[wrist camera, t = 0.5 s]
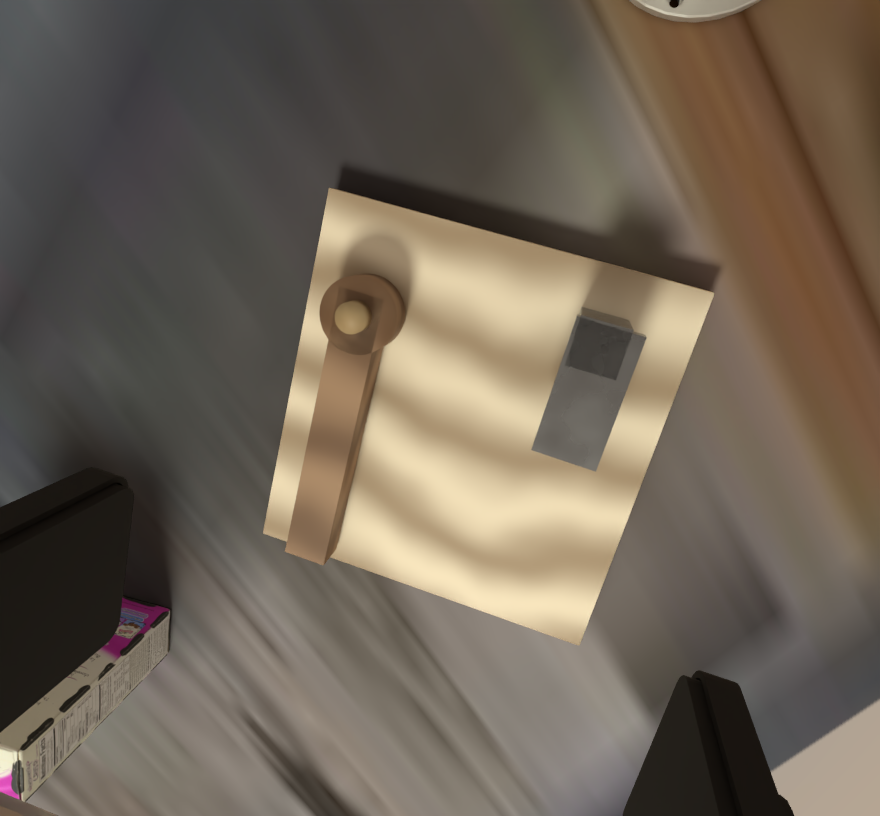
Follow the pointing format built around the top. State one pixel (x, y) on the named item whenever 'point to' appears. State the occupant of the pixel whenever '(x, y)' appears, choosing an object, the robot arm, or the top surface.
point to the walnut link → (341, 406)
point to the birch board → (483, 413)
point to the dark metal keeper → (589, 388)
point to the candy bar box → (82, 700)
